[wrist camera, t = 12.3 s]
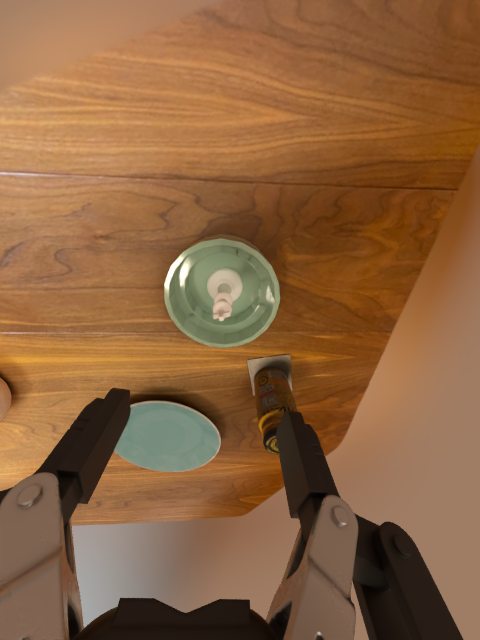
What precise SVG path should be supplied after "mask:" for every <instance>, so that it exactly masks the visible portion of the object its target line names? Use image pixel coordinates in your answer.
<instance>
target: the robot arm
mask: <svg viewBox="0 0 480 640" xmlns="http://www.w3.org/2000/svg"><path fill="white" fill-rule="evenodd" d="M130 412H131V404H130V390H126V389H118V388H112V389H111V390H110V391H109V392H108V394H107V395H106V397H105V398H104V399H101V398H96V399H95V400H94V401H92V402H91V403H90V404H88V405H87V406H86V407H85V408H84V409H83V411H82V412H81V413H80V415H79V416H78V417H77V420H75V421H74V423H73V424H72V425H71V427H70V429H68V431H67V432H66V433H65V435H64V436H63V437H62V439H61V440H60V441H59V443H58V444H57V445H56V447H55V448H54V449H53V451H52V452H51V453H50V455H49V456H48V457H47V459H46V460H45V462H44V463H43V464H42V465H41V467H40V468H39V469H38V470H37V471H36V472H35V473H34V474H33V475H32V476H29V477H27V478H25V479H24V480H22V481H21V482H19V483H18V484H17V485H15V486H14V487H12V488H9V489H7V490H3V491H0V640H354V632H355V622H356V612H355V607H354V604H353V603H352V601H351V597H350V592H351V585H352V581H353V584H354V588H355V591H356V595H357V598H358V602H359V606H360V609H361V613H362V616H363V620H364V623H365V627H366V630H367V634H368V637H369V640H463V638H462V636H461V634H460V632H459V630H458V628H457V626H456V624H455V622H454V620H453V618H452V616H451V614H450V612H449V610H448V608H447V606H446V604H445V602H444V600H443V598H442V596H441V594H440V592H439V590H438V588H437V586H436V584H435V582H434V580H433V578H432V576H431V574H430V572H429V570H428V568H427V566H426V564H425V562H424V560H423V558H422V556H421V554H420V552H419V550H418V548H417V547H416V545H415V543H414V542H413V540H412V539H411V538H410V536H409V535H408V534H407V533H406V532H405V531H404V530H403V529H402V528H401V527H399V526H398V525H396V524H394V523H391V522H384V523H383V524H381V525H380V526H379V525H376V524H374V523H372V522H370V521H368V520H366V519H364V518H362V517H360V516H358V515H356V514H355V513H354V512H353V511H352V509H351V508H350V506H349V505H348V504H347V503H346V502H345V501H344V500H343V499H341V497H340V496H339V494H338V491H337V489H336V486H335V483H334V480H333V478H332V475H331V472H330V469H329V467H328V464H327V461H326V458H325V456H324V453H323V450H322V447H321V445H320V442H319V439H318V437H317V434H316V433H315V431H314V430H313V429H312V427H311V426H310V425H309V424H305V423H304V420H303V417H302V414H301V413H300V412H293V411H285V413H284V415H283V417H282V419H281V421H280V423H279V426H278V428H277V432H276V440H277V446H278V451H279V456H280V462H281V467H282V473H283V478H284V484H285V489H286V495H287V500H288V506H289V511H290V516H291V518H299V520H300V524H301V528H300V530H299V532H298V535H297V538H296V541H295V544H294V547H293V550H292V553H291V556H290V559H289V562H288V565H287V568H286V571H285V574H284V577H283V579H282V582H281V584H280V586H279V588H278V590H277V592H276V594H275V596H274V598H273V601H272V603H271V606H270V609H269V612H268V615H267V618H266V621H265V620H264V619H263V618H262V617H261V616H260V615H259V614H257V613H256V612H255V611H253V610H251V609H250V600H236V599H235V600H234V599H219V600H217V601H214V602H212V603H210V604H208V605H205V606H202V607H200V608H198V609H195V610H193V611H191V612H188V613H183V612H181V611H179V610H177V609H175V608H173V607H171V606H168V605H166V604H164V603H162V602H160V601H158V600H156V599H154V598H120V601H119V604H118V607H115V608H113V609H111V610H109V611H107V612H105V613H104V614H102V615H100V616H99V617H98V618H96V619H95V620H93V621H92V622H91V623H90V624H89V625H87V626H86V627H85V628H84V627H83V617H82V608H81V599H80V592H79V586H78V582H77V576H76V567H75V557H74V547H73V536H72V526H71V516H72V514H73V512H74V510H75V508H76V506H77V504H78V503H82V504H88V502H89V500H90V498H91V496H92V494H93V492H94V490H95V488H96V486H97V484H98V482H99V480H100V477H101V475H102V473H103V471H104V469H105V467H106V465H107V463H108V461H109V459H110V457H111V455H112V453H113V451H114V449H115V447H116V445H117V443H118V441H119V439H120V437H121V435H122V433H123V431H124V429H125V427H126V425H127V423H128V420H129V417H130Z"/></svg>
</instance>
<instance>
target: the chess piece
mask: <svg viewBox="0 0 480 640" xmlns="http://www.w3.org/2000/svg"><path fill="white" fill-rule="evenodd" d="M207 289H208V293H209V294H210V296H211V297H212V298H213V299H214V306H213V318H214V319H218V318H219V321H223V320H224V318H227V317H229V316H231V312H232V307H231V305H232V303H233V301H235V300H236V299H237V298H238V297H239V296H240V294H241V292H242V289H243V282H242V279H241V277H240V275H239V274H238V273H237V272H236V271H235V270H233V269H230V268H219V269H216V270H215V271H213V272H212V273H211V274H210V276H209V277H208V280H207Z"/></svg>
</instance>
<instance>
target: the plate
mask: <svg viewBox="0 0 480 640" xmlns="http://www.w3.org/2000/svg"><path fill="white" fill-rule="evenodd" d="M220 445H221V437H220V433H219V431H218V429H217V428H216V426H215V425H214V424H213V423H212V422H211V421H210V420H209V419H208V418H207V417H205V416H204V415H203V414H201V413H200V412H198V411H196V410H194V409H192V408H190V407H188V406H185V405H182V404H179V403H175V402H170V401H160V400H154V401H143V402H138V403H134V404H131V412H130V417H129V420H128V423H127V425H126V427H125V429H124V431H123V433H122V435H121V437H120V439H119V441H118V443H117V445H116V447H115V449H114V451H115V452H116V453H117V454H118V455H119V456H120V457H122V458H123V459H125V460H126V461H128V462H130V463H132V464H134V465H137V466H139V467H142V468H146V469H150V470H155V471H163V472H181V471H188V470H192V469H196V468H199V467H201V466H203V465H205V464H207V463H208V462H209V461H211V460H212V459H213V458H214V457H215V456H216V454H217V453H218V451H219V449H220Z"/></svg>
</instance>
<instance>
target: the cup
mask: <svg viewBox="0 0 480 640" xmlns="http://www.w3.org/2000/svg"><path fill="white" fill-rule="evenodd" d="M11 399H12V397H11V392H10V389H9V387H8V385H7V383H5V382H4V381H3V380H2V379H1V378H0V421H1V420H2V419H3V418H4V417H5V415H6V413H7V412H8V410H9V408H10V406H11Z"/></svg>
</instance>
